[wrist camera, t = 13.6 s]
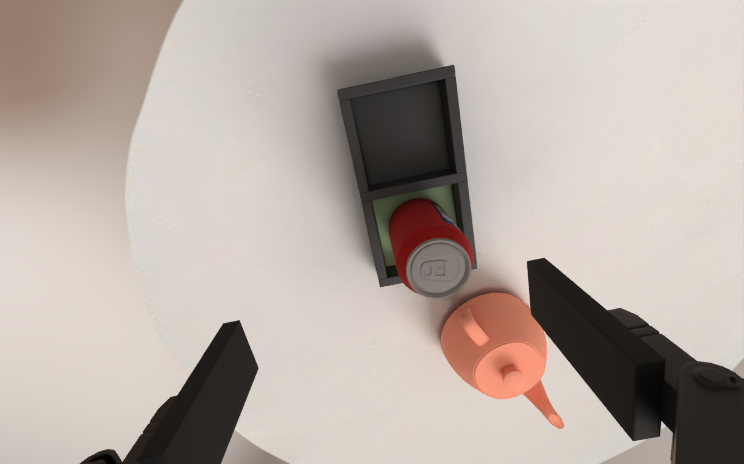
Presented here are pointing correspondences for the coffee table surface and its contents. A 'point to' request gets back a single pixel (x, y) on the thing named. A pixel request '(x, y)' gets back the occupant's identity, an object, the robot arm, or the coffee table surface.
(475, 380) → the teapot
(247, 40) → the coffee table surface
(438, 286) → the beverage can
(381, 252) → the divided tray
